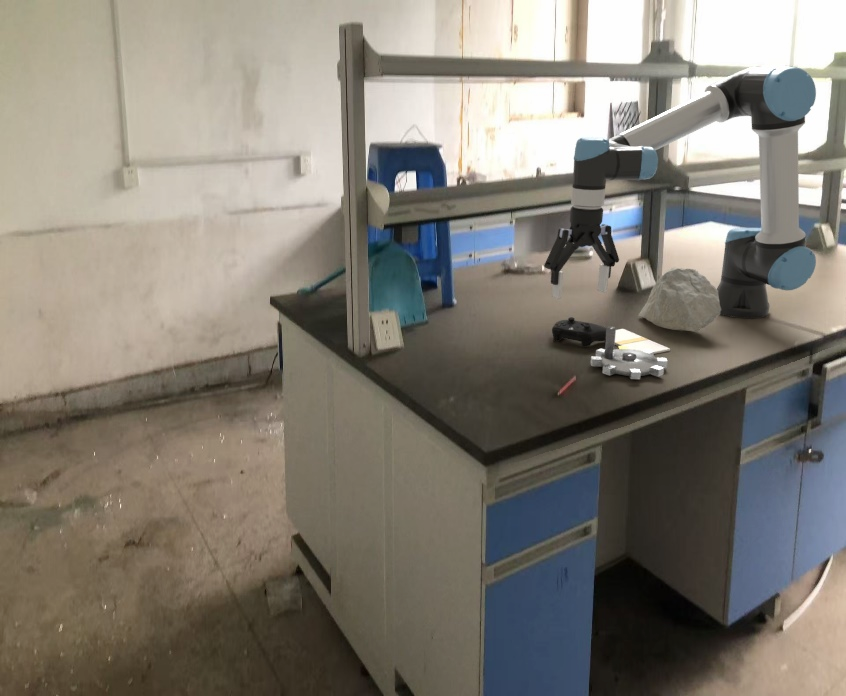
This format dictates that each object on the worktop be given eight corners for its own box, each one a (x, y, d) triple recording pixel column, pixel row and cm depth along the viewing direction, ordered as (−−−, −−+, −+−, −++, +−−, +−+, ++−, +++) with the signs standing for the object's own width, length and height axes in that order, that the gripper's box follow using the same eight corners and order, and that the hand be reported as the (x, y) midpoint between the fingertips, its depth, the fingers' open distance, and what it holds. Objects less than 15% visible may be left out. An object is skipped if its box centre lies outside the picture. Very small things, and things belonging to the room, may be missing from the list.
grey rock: (727, 336, 199) (735, 278, 194) (691, 345, 192) (698, 285, 187) (659, 313, 217) (665, 260, 212) (624, 321, 210) (629, 266, 205)
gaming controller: (614, 321, 193) (597, 324, 185) (611, 345, 194) (594, 349, 187) (563, 312, 202) (544, 315, 194) (560, 335, 203) (541, 339, 195)
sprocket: (587, 351, 186) (589, 316, 183) (659, 354, 184) (663, 318, 182) (594, 378, 170) (597, 339, 167) (673, 381, 169) (678, 342, 166)
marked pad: (622, 330, 203) (623, 328, 202) (669, 350, 188) (670, 348, 188) (594, 335, 199) (594, 333, 199) (640, 356, 185) (640, 354, 184)
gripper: (618, 200, 192) (610, 285, 199) (533, 207, 182) (527, 296, 189) (639, 205, 186) (630, 292, 193) (552, 212, 175) (545, 304, 182)
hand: (579, 294), depth 191 cm, fingers open, 13 cm apart
